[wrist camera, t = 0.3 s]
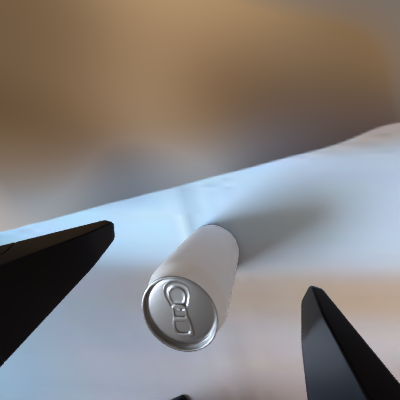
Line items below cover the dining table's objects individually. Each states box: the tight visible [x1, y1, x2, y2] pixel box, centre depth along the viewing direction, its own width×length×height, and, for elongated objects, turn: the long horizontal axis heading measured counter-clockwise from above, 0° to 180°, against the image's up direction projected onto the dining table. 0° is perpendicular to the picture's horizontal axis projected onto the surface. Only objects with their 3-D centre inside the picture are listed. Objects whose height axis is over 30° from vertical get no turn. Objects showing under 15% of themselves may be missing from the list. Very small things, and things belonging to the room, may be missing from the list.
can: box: [142, 225, 239, 352], centre depth 20 cm, size 6×6×12 cm
